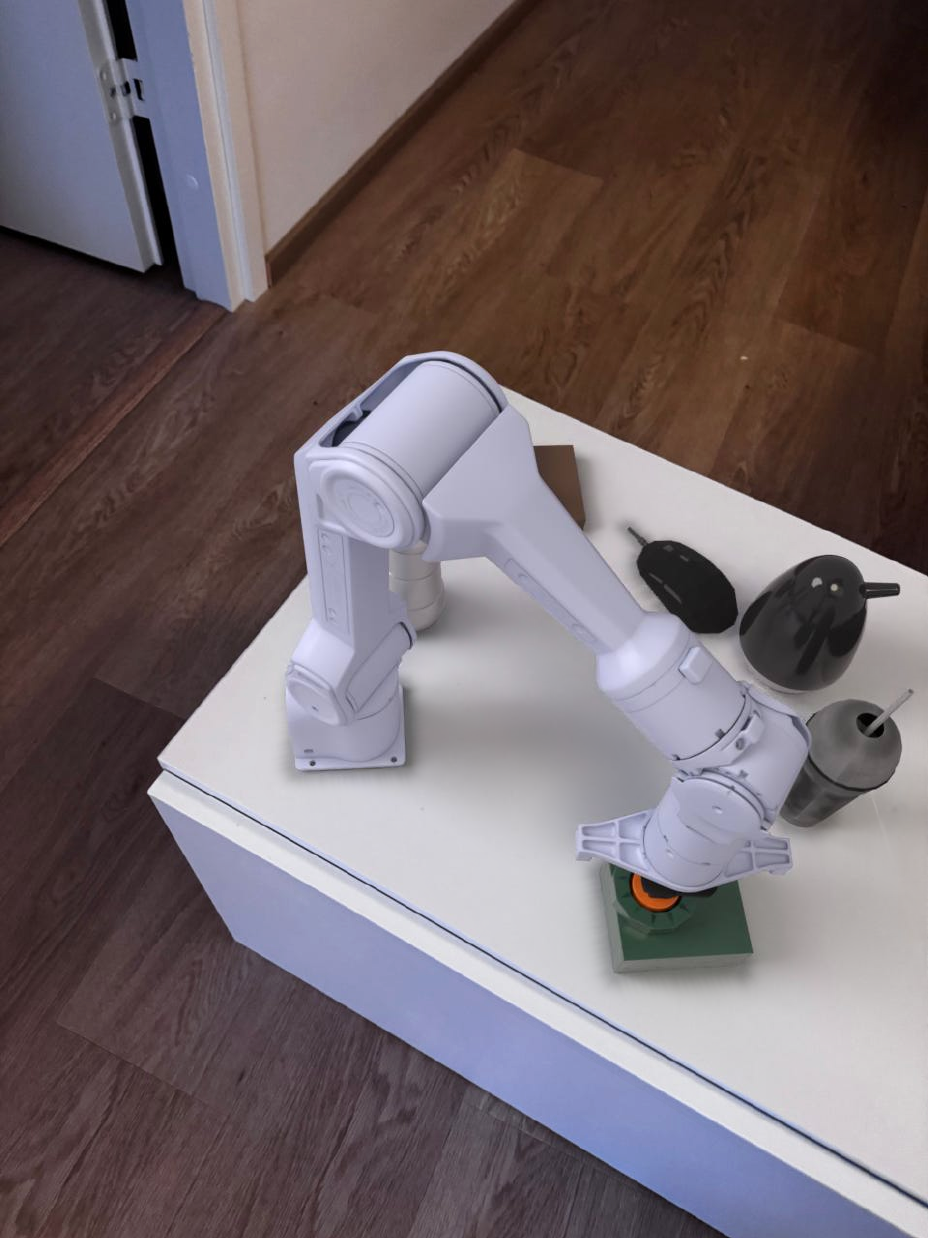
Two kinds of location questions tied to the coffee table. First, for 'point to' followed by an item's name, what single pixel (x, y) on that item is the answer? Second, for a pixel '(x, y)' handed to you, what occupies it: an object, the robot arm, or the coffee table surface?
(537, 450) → the control panel
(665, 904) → the button
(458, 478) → the robot arm
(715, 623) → the gaming mouse
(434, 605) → the metal bottle
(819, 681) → the black bird figure
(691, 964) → the button box
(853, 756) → the beverage cup
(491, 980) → the coffee table surface
